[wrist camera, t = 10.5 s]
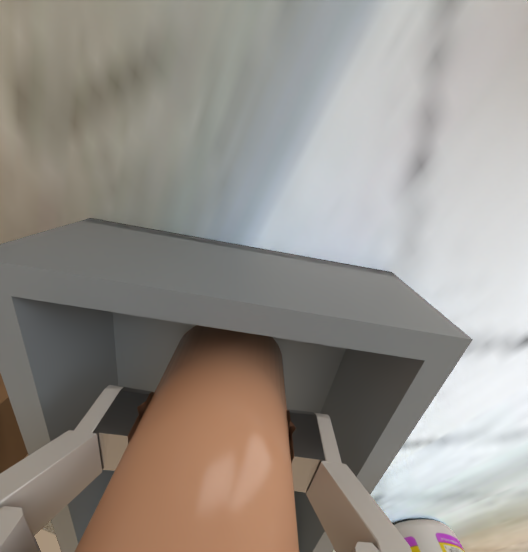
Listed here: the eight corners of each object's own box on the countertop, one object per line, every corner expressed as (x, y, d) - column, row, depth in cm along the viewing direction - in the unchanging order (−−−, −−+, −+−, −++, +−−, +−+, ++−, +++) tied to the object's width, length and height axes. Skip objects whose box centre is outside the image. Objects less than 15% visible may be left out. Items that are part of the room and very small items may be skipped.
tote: (115, 460, 18) (64, 560, 13) (90, 218, 11) (-40, 255, 6) (300, 482, 19) (311, 582, 14) (391, 272, 12) (472, 339, 7)
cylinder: (177, 309, 10) (31, 542, 4) (293, 327, 11) (335, 571, 4) (173, 393, 12) (73, 638, 6) (271, 406, 13) (276, 652, 6)
